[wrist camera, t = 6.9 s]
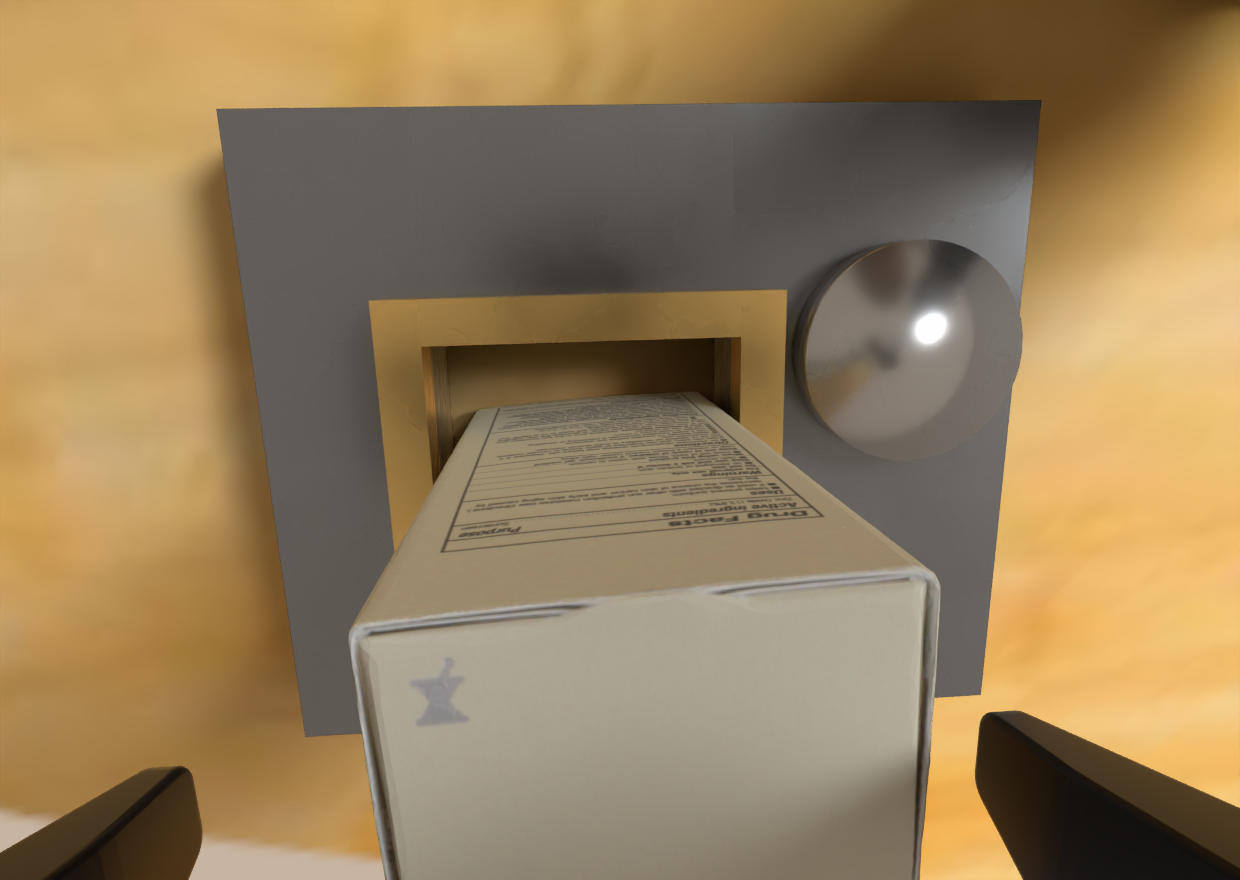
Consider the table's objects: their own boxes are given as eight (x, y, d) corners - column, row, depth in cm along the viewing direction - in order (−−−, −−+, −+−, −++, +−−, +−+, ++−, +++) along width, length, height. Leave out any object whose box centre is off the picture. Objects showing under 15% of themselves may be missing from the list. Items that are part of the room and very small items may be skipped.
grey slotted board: (990, 119, 18) (1071, 88, 15) (943, 656, 21) (1002, 716, 18) (257, 128, 17) (191, 97, 14) (330, 692, 20) (290, 762, 17)
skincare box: (490, 557, 20) (367, 986, 8) (473, 403, 19) (303, 626, 7) (719, 538, 20) (936, 923, 8) (715, 386, 19) (954, 571, 7)
